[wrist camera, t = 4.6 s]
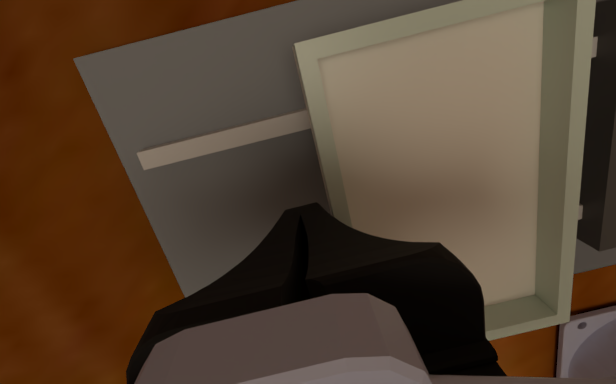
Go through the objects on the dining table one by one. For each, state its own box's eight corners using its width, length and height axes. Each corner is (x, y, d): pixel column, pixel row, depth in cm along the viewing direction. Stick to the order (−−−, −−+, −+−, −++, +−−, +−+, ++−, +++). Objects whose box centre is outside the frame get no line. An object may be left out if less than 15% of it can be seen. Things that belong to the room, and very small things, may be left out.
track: (662, -91, 12) (749, -127, 10) (615, 252, 17) (664, 279, 15) (85, 59, 12) (42, 57, 10) (217, 347, 18) (207, 387, 16)
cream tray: (519, -10, 11) (599, -35, 8) (517, 275, 15) (569, 321, 13) (291, 49, 11) (294, 43, 8) (353, 314, 16) (368, 368, 13)
